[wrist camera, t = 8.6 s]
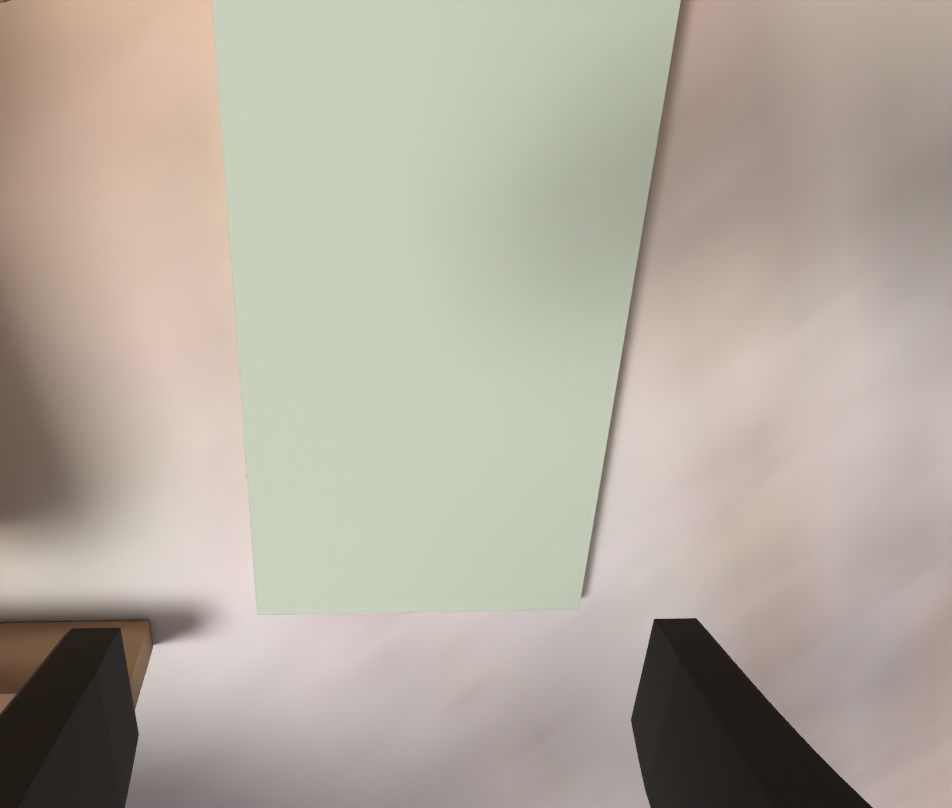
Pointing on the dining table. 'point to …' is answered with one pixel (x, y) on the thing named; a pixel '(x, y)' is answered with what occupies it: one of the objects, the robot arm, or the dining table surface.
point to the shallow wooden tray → (28, 644)
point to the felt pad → (432, 287)
